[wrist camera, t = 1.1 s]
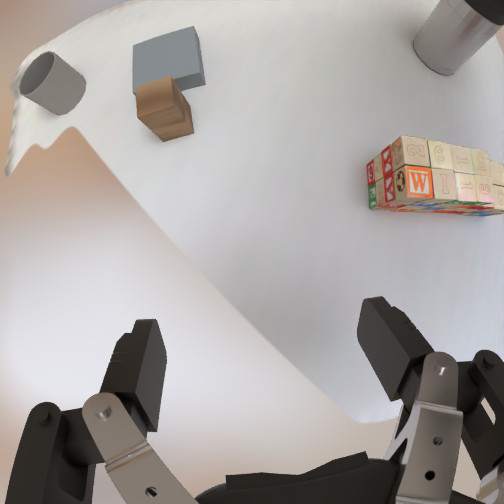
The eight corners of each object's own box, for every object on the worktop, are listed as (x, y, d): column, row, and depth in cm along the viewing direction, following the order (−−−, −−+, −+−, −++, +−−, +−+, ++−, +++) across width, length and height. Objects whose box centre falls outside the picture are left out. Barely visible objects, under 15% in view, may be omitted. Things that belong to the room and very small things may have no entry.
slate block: (142, 57, 38) (133, 45, 34) (199, 40, 37) (193, 26, 33) (143, 103, 38) (132, 92, 34) (206, 85, 37) (200, 72, 33)
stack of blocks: (480, 178, 35) (530, 162, 22) (483, 216, 35) (535, 210, 22) (365, 164, 36) (401, 133, 24) (367, 210, 36) (407, 196, 24)
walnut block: (160, 115, 38) (135, 87, 29) (190, 106, 37) (170, 75, 28) (163, 141, 38) (137, 117, 29) (194, 133, 37) (173, 105, 28)
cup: (55, 85, 39) (24, 65, 29) (88, 69, 38) (59, 43, 28) (50, 121, 39) (15, 104, 29) (83, 105, 39) (49, 82, 29)
